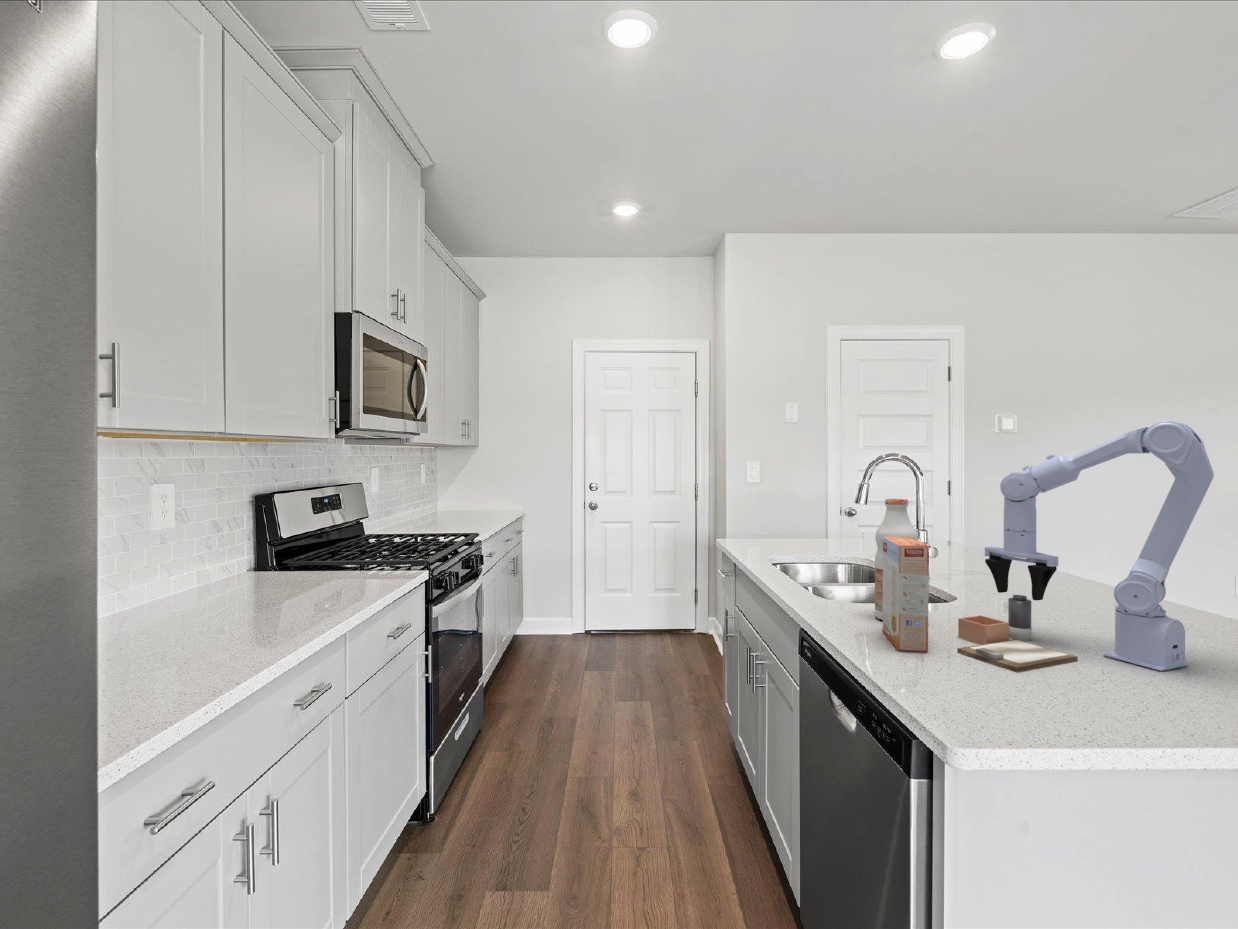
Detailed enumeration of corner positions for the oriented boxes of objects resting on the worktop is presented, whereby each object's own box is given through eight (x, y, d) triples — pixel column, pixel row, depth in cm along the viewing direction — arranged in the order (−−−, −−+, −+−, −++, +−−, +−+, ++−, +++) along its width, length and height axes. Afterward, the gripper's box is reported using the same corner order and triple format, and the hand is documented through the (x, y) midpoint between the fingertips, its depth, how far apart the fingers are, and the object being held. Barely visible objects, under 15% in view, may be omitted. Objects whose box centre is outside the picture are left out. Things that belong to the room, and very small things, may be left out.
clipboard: (1077, 660, 115) (1077, 651, 115) (1016, 672, 109) (1016, 662, 109) (1015, 643, 126) (1015, 634, 126) (957, 652, 120) (957, 643, 120)
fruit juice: (892, 612, 151) (892, 497, 151) (928, 621, 143) (928, 499, 142) (865, 617, 147) (865, 498, 146) (900, 627, 138) (900, 501, 138)
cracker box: (930, 653, 120) (930, 545, 120) (897, 652, 121) (896, 544, 121) (911, 633, 134) (911, 536, 133) (881, 632, 135) (881, 535, 135)
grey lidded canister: (1036, 639, 128) (1036, 597, 128) (1022, 642, 127) (1022, 599, 127) (1017, 634, 132) (1017, 593, 132) (1003, 636, 131) (1003, 594, 131)
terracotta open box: (1008, 642, 127) (1008, 622, 127) (986, 646, 124) (986, 626, 124) (980, 634, 133) (980, 615, 133) (958, 637, 130) (958, 618, 130)
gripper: (1068, 533, 124) (1068, 601, 124) (1000, 526, 137) (1000, 587, 138) (1044, 535, 121) (1044, 604, 122) (977, 527, 135) (977, 590, 135)
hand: (1019, 595), depth 129 cm, fingers open, 7 cm apart
